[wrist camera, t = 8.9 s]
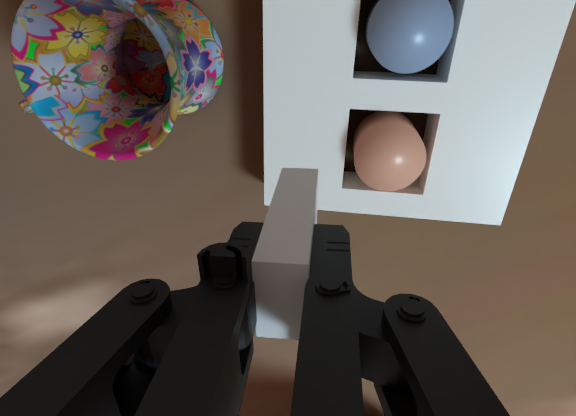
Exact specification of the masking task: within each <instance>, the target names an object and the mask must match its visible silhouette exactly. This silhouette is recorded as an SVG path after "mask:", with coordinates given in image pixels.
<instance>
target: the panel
mask: <svg viewBox="0 0 576 416" xmlns="http://www.w3.org/2000/svg"><path fill="white" fill-rule="evenodd" d="M360 1H361V0H263V95H264V205H269V206H270V203H271V200H272V197H273V194H274V191H275V188H276V185H277V182H278V179H279V176H280V173H281V170H282V168H309V169H318V198H317V210H328V211H339V212H351V213H363V214H374V215H386V216H398V217H409V218H421V219H433V220H445V221H456V222H468V223H480V224H491V225H501V223H502V220H503V217H504V214H505V211H506V208H507V205H508V202H509V199H510V196H511V193H512V190H513V187H514V184H515V181H516V178H517V175H518V172H519V169H520V166H521V163H522V160H523V157H524V154H525V151H526V148H527V145H528V142H529V139H530V136H531V133H532V130H533V127H534V124H535V121H536V118H537V115H538V112H539V109H540V106H541V103H542V100H543V97H544V94H545V91H546V88H547V85H548V82H549V79H550V76H551V73H552V70H553V67H554V64H555V61H556V59H557V56H558V53H559V50H560V47H561V44H562V41H563V38H564V35H565V32H566V29H567V26H568V23H569V20H570V17H571V14H572V11H573V8H574V5H575V2H576V0H451V1H450V5H451V8H452V11H453V17H454V27H453V33H452V37H451V40H450V42H449V44H448V46H447V48H446V50H445V51H444V53H443V54H442V55H441V56H440V58H439V61H438V66H437V71H436V74H414V73H409V74H402V73H391V72H369V71H354V61H355V51H356V41H357V31H358V21H359V11H360ZM350 109H361V110H379V111H397V112H415V113H428V117H427V122H426V127H425V132H424V137H423V143H424V145H425V148H426V163H425V167H424V169H423V171H422V173H421V174H420V176H419V177H418V178H417V179H416V180H415V181H414V182H413V183H412V184H410V185H408V186H407V187H405V188H403V189H400V190H396V191H380V190H376V189H373V188H371V187H369V186H368V185H366V184H365V183H364V182H363V181H362V180H361V179H360V178H359V176H358V174H357V172H349V171H344V161H345V151H346V141H347V131H348V121H349V111H350Z"/></svg>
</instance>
